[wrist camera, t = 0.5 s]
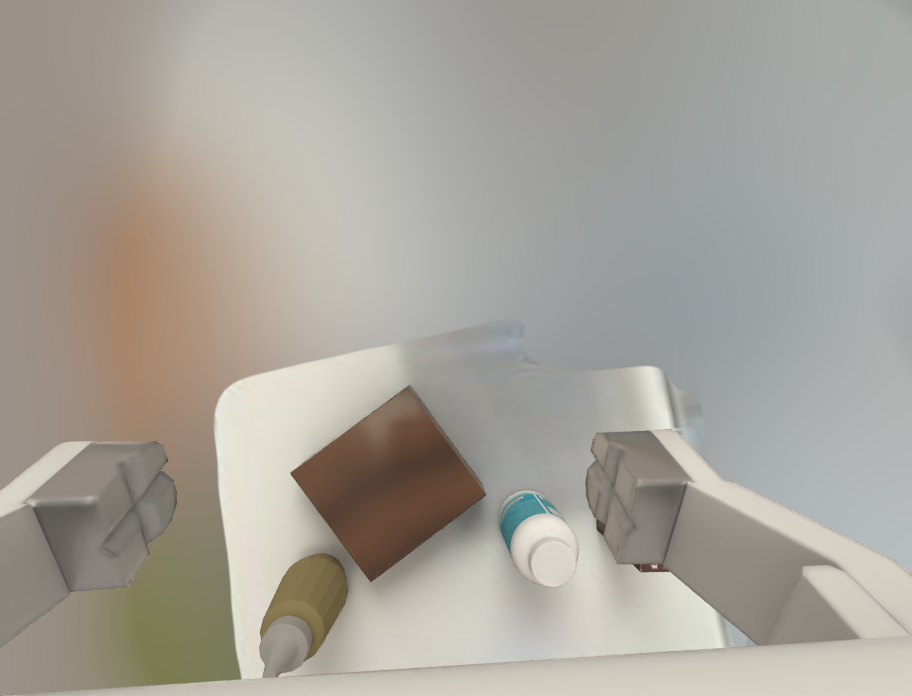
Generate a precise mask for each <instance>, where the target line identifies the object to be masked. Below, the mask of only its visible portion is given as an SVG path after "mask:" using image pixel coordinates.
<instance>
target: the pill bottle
mask: <svg viewBox="0 0 912 696" xmlns="http://www.w3.org/2000/svg"><path fill="white" fill-rule="evenodd" d="M499 527H500V530H501V533H502V535H503V538H504V540H505V543H506V545H507V548H508V550H509V552H510V555H511V558H512V560H513V562H514V564H515V567H516V568H517V570H518V571H519V573H520V574H521V575H522V576H523V577H525V578H526V579H527V580H529V581H531V582H533V583H536V584H540V585H544V586H546V587H551V588H555V587H560V586H563V585H564V584H566V583H567V582H569V581H570V579H571V578H572V577H573V575H574V573H575V569H576V563H577V560H578V554H579V547H578V541H577V538H576V535H575V533H574V532H573V530H572V529H571V527H570V526H569V525H568V523H567V522H566V521H565V520H564V519H563V517H562V516H561V515H560V514H559V512H558V511H557V510H556V509H555V507H554V506H553V505H552V504H551V503H550V501H549V500H548V499H547V498H546V497H545V496H543V495H542V494H540V493H538V492H535V491H531V490H523V491H519V492H516V493H514V494H512V495H511V496H509V497H508V498H507V499H506V500H505V502H504V503H503V505H502V507H501V509H500V512H499Z"/></svg>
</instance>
